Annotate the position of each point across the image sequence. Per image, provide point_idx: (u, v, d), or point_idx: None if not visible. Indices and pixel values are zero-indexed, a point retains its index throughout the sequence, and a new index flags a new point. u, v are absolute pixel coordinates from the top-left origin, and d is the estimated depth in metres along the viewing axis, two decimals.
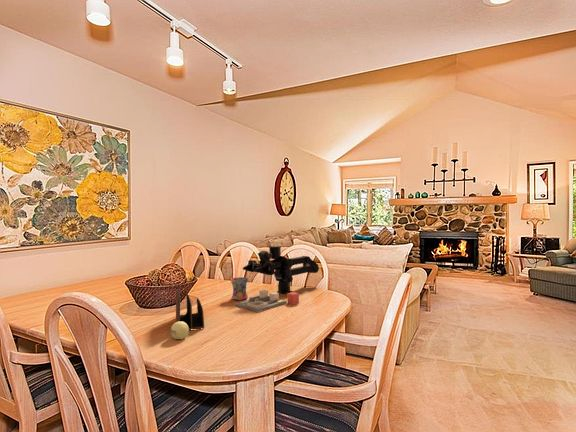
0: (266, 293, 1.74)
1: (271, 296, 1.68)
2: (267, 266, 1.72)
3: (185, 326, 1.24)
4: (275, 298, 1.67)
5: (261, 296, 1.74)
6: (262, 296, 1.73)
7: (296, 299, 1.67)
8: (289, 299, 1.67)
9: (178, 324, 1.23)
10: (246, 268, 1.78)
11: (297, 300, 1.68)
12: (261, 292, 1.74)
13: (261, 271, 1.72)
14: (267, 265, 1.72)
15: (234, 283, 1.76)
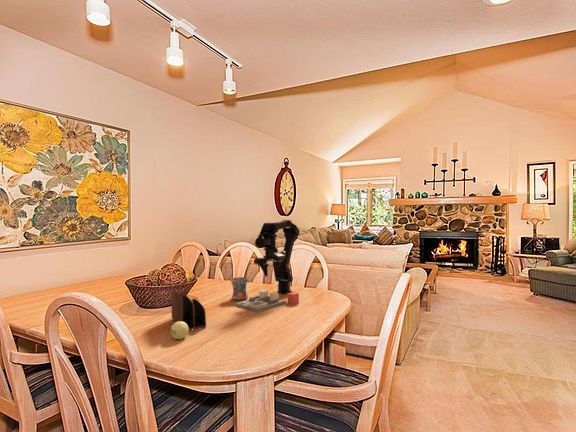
0: (266, 293, 1.74)
1: (271, 296, 1.68)
2: None
3: (185, 326, 1.24)
4: (275, 298, 1.67)
5: (261, 296, 1.74)
6: (262, 296, 1.73)
7: (296, 299, 1.67)
8: (289, 299, 1.67)
9: (178, 324, 1.23)
10: None
11: (297, 300, 1.68)
12: (261, 292, 1.74)
13: None
14: None
15: (234, 283, 1.76)
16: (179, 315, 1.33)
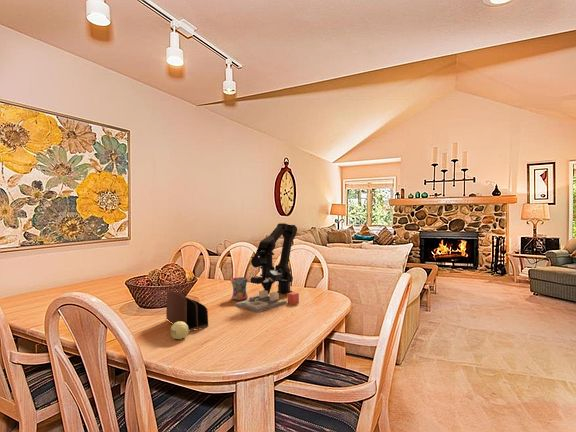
0: (266, 293, 1.74)
1: (271, 296, 1.68)
2: None
3: (185, 326, 1.24)
4: (275, 298, 1.67)
5: (261, 296, 1.74)
6: (262, 296, 1.73)
7: (296, 299, 1.67)
8: (289, 299, 1.67)
9: (178, 324, 1.23)
10: None
11: (297, 300, 1.68)
12: (261, 292, 1.74)
13: None
14: None
15: (234, 283, 1.76)
16: (181, 315, 1.33)
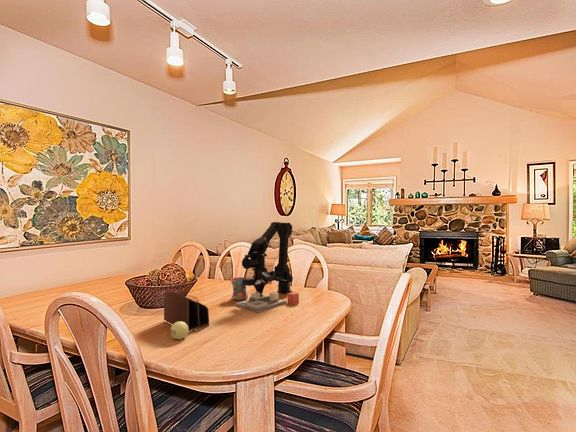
0: (258, 295, 1.70)
1: (271, 296, 1.68)
2: None
3: (185, 326, 1.24)
4: (275, 298, 1.67)
5: None
6: None
7: (296, 299, 1.67)
8: (289, 299, 1.67)
9: (178, 324, 1.23)
10: None
11: (297, 300, 1.68)
12: (253, 294, 1.70)
13: None
14: None
15: (234, 283, 1.76)
16: (183, 315, 1.33)
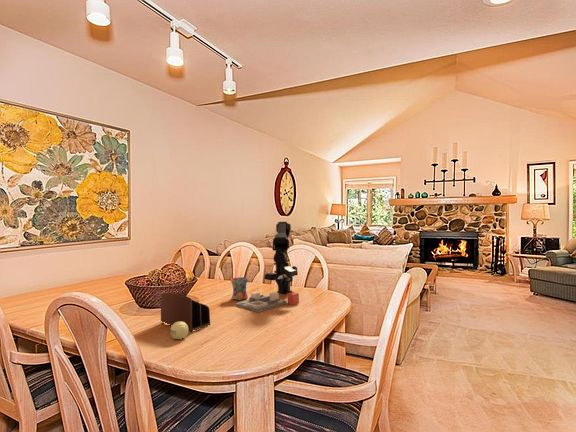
0: (258, 295, 1.70)
1: (271, 296, 1.68)
2: None
3: (185, 326, 1.24)
4: (275, 298, 1.67)
5: None
6: None
7: (296, 299, 1.67)
8: (289, 299, 1.67)
9: (178, 324, 1.23)
10: None
11: (297, 300, 1.68)
12: (253, 294, 1.70)
13: None
14: None
15: (234, 283, 1.76)
16: (185, 315, 1.33)
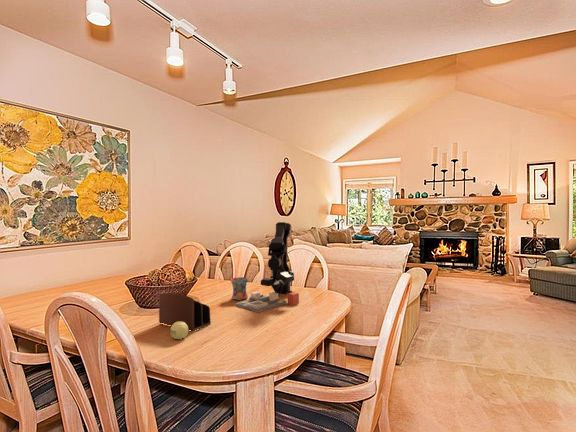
0: (258, 295, 1.70)
1: (271, 296, 1.68)
2: None
3: (185, 326, 1.24)
4: (275, 298, 1.67)
5: None
6: None
7: (296, 299, 1.67)
8: (289, 299, 1.67)
9: (177, 324, 1.23)
10: None
11: (297, 300, 1.68)
12: (253, 294, 1.70)
13: None
14: None
15: (234, 283, 1.76)
16: (186, 315, 1.33)
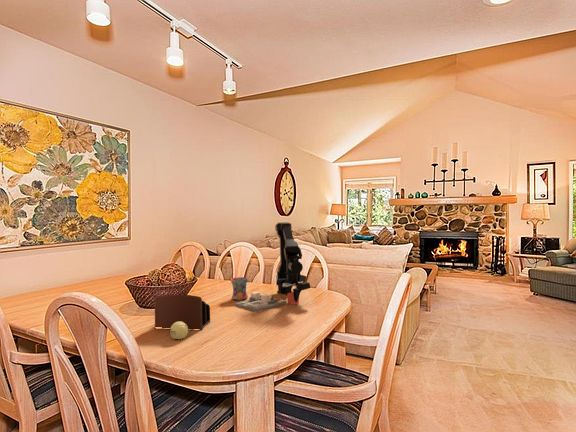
0: (258, 295, 1.70)
1: (263, 298, 1.64)
2: None
3: (184, 326, 1.23)
4: (267, 300, 1.64)
5: None
6: None
7: None
8: (289, 299, 1.67)
9: (177, 324, 1.23)
10: None
11: None
12: (253, 294, 1.70)
13: None
14: None
15: (234, 283, 1.76)
16: (193, 315, 1.33)
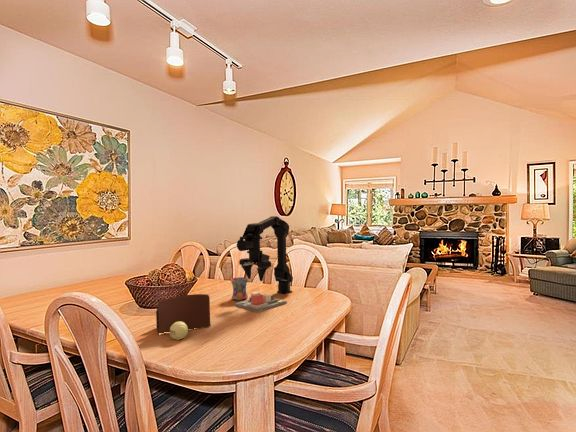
0: None
1: (263, 298, 1.64)
2: None
3: (184, 326, 1.23)
4: (267, 300, 1.64)
5: None
6: None
7: (260, 301, 1.60)
8: (253, 301, 1.60)
9: (177, 324, 1.23)
10: None
11: (261, 302, 1.61)
12: (253, 294, 1.70)
13: None
14: None
15: (234, 283, 1.76)
16: (201, 313, 1.35)
